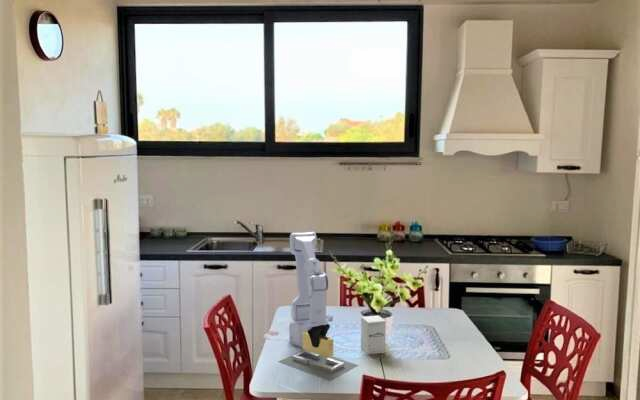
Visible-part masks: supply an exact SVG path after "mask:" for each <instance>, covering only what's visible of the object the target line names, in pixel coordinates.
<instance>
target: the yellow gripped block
mask: <svg viewBox="0 0 640 400" xmlns="http://www.w3.org/2000/svg"><path fill="white" fill-rule="evenodd" d="M302 350H307V351H310V352H313V353H316V354H319V355H322V356H325V357H328V358H329V357H331V356H332V357H334V338H333V337H329V336H327V335H326V336H323V335H319V344H318V347H317V348H316V347H313V346H312V343H311V339H310V336H309V334H308V332H304V333H303V347H302Z"/></svg>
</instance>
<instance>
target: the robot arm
mask: <svg viewBox="0 0 640 400" xmlns="http://www.w3.org/2000/svg"><path fill="white" fill-rule="evenodd" d="M317 242H318V238H317V234H316V232H315V231H307V232H291V233H290V235H289V251H290V253H291V254H292V255H294V258H295V268H296V270H295V271H296V285H297V286H296V287H297V296H296V297H295V298H294V299H293V300H292V301H291V307H290V315H291V321H290V323H289V325H288V327H289V328H288V329H289V330H288V331H289V334H288V335H289V340H287V343H290V344H293V345H294V346H295V345H296V346H299V347H302V348H303V333H304V332H308V334H309V336H310V339H311V343H312V346H313V347H316V348H317V347H318V344H319V335H323V336H326V337H327V335H328V331H329V330H330V328H331V324H329V322H333V320H334V316H333V315H331V314H327V291H328V289H329V278H328V275H327V273H325V272H324V271H323V268H322V264H321V262H320V260H319V259H318V258H317V257H316V254H315V253H316V252H315V249H316V246H317V244H318V243H317Z"/></svg>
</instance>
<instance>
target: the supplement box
mask: <svg viewBox="0 0 640 400" xmlns="http://www.w3.org/2000/svg"><path fill="white" fill-rule="evenodd" d="M386 322H387V321H386V320H385V319H384V318H383V317H381V316H380V315H368V316H361V318H360V349H361V350H362V351H364V353H365V354H366V355H376V354H385V353H386Z"/></svg>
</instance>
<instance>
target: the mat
mask: <svg viewBox="0 0 640 400" xmlns="http://www.w3.org/2000/svg"><path fill="white" fill-rule="evenodd" d="M302 351H305V350H304V349H302V350H301V351H298V352H296V353H294V354H292V355H290V356H287V357H285V358H282V359H281V360H279V361H278V362H277V363H280V364H283V365H286V366H289V367H292V368H294V369H296V370H299V371H303V372H305V373H308V374H310V375H312V376H316V377H318V378H321V379H324V380H325V381H329V382H331V381H333V380H335V379H337V378H339V377H341V376H342V375H344V374H345V373H348V372H349V371H351V370H353V369H354V368H357V367H359V364H356V363H353V362H350V361H346V360H344V359H341V358H338V357H334V356H331V357H329V358H331V359H334V360H337V361H340V362H343V363H344V367H343V368H341V369H340V370H338V371H336V372H334V373H332V374H330V373H328V372H325V371H322V370H319V369H316V364H317V363H321V364H324V365H326V366H329V367H334V366H333V365H330V364H327V363H326V359H327V358H328V357H325V356H322V355H320V359H319V360H316V359H313V358H310V357H307V356H304V357H303V358H306V359H309V360H310V364H308V365H305V364H302V363H300V362H297V361H294V360H293V356H294V355H296V354H298V353H300V352H302Z"/></svg>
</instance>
